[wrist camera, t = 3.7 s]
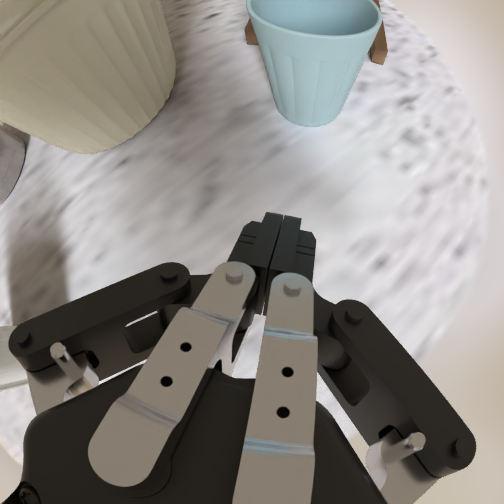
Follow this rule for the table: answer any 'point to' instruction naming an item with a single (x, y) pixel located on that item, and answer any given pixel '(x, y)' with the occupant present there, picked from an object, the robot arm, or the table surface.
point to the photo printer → (10, 364)
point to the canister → (84, 69)
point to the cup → (313, 52)
